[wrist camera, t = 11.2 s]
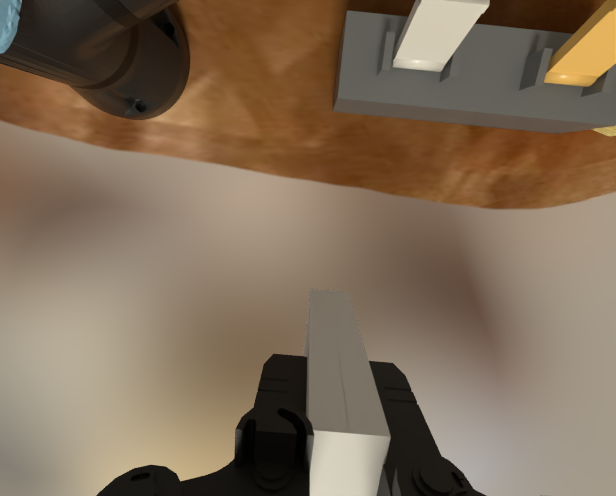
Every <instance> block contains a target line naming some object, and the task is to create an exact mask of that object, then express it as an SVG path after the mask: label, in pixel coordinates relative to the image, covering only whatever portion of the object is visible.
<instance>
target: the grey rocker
mask: <svg viewBox="0 0 616 496" xmlns="http://www.w3.org/2000/svg"><path fill="white" fill-rule="evenodd" d="M489 4H490V0H416V1H415V3H414V5H413V8H412V10H411V12H410V15H409V17H408V19H407V22H406V24H405V26H404V29H403V31H402V33H401V36H400V38H399V40H398V43H397V45H396V47H395V50H394V53H393V58H392V67H396V68H406V69H415V70H425V71H435V72H441V71H442V69H443V68H444V66H445V64H446V63H447V61H448V60H449V59H450V57H451V56H452V54H453V53H454V52H455V50H456V49H457V47H458V46H459V45H460V43H461V42H462V40H463V39H464V38H465V36H466V35H467V33H468V32H469V31H470V29H471V28H472V26H473V25H474V24H475V22H476V21H477V19H478V18H479V17H480V15H481V14H483V13H484V12H485V11H486V9H487V8H488V6H489Z"/></svg>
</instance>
